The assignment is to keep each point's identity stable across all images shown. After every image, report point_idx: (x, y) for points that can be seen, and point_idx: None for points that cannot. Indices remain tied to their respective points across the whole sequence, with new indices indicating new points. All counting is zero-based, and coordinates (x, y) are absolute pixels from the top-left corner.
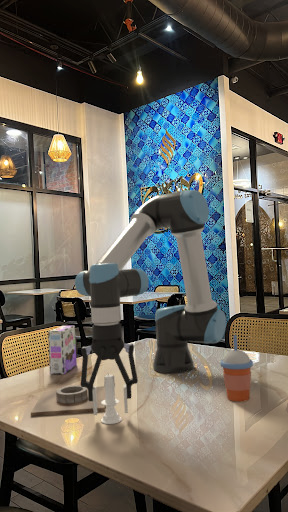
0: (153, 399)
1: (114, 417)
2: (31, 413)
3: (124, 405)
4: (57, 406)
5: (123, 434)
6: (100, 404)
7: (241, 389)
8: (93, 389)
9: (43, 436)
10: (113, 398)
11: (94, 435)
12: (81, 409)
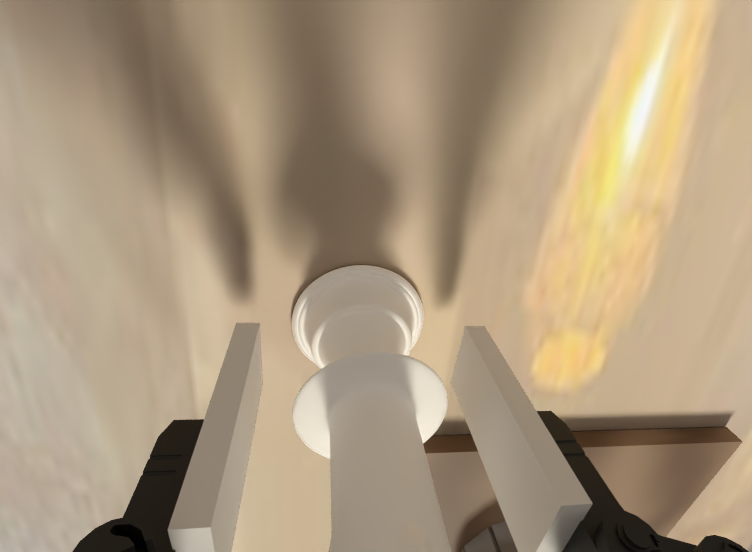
0: None
1: (339, 303)
2: (734, 438)
3: (249, 362)
4: (610, 486)
5: (276, 50)
6: None
7: None
8: (581, 504)
9: None
10: (346, 422)
11: (496, 99)
12: None
